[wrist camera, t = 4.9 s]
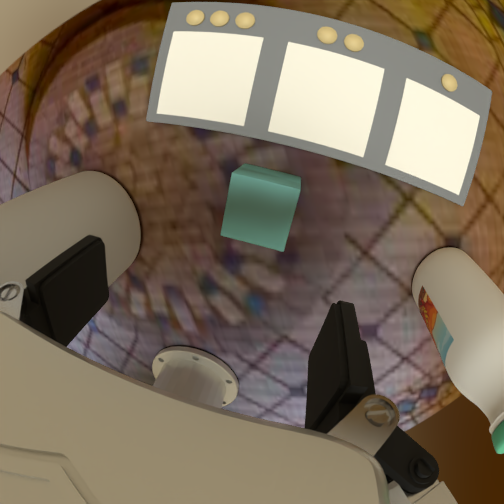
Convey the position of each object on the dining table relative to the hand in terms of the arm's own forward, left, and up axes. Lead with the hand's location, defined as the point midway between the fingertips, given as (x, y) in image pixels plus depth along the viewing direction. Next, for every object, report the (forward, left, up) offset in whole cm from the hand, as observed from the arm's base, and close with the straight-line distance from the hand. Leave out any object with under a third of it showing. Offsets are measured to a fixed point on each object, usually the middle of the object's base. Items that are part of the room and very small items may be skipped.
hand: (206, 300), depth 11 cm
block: (0, 0, -17) cm, 17 cm away
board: (+11, -3, -17) cm, 20 cm away
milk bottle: (-3, -20, -17) cm, 27 cm away
